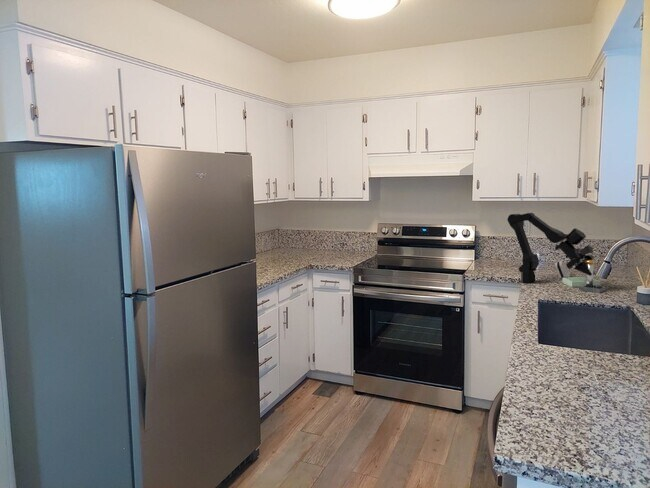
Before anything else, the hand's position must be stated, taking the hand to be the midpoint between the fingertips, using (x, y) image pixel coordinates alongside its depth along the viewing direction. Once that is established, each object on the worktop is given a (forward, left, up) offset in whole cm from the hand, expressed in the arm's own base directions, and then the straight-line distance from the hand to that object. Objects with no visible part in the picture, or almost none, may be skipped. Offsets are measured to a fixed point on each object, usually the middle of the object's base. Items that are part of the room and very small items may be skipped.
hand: (592, 274), depth 227 cm
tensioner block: (0, 0, -8) cm, 8 cm away
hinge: (+3, +43, -8) cm, 44 cm away
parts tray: (+1, +15, -8) cm, 17 cm away
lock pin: (-1, +1, -8) cm, 8 cm away
